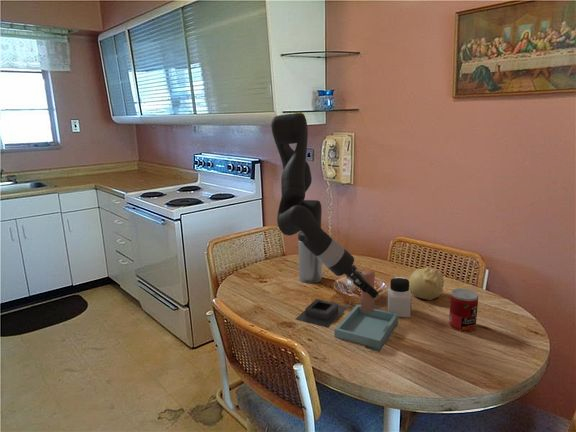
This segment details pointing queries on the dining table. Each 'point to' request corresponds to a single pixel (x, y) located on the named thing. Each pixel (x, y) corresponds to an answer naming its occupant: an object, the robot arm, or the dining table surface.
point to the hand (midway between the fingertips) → (374, 292)
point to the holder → (321, 313)
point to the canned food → (463, 309)
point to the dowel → (366, 299)
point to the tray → (367, 327)
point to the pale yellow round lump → (426, 283)
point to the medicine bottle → (399, 297)
